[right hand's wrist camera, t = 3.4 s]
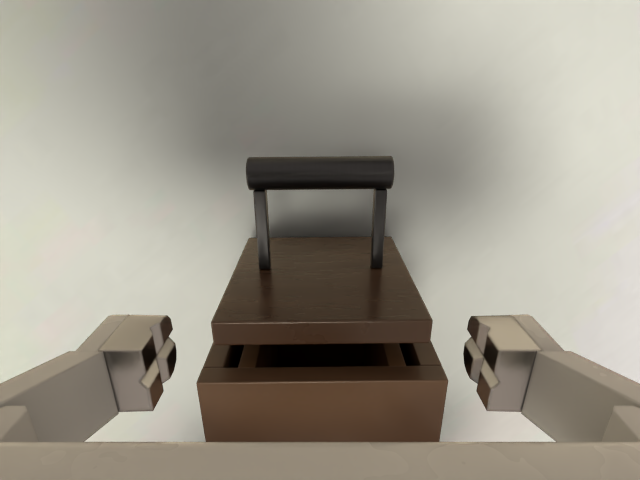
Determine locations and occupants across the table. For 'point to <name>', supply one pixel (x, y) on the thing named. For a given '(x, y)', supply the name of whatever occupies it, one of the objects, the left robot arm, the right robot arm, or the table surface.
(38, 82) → the table surface
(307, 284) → the drawer
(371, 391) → the cabinet
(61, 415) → the right robot arm
